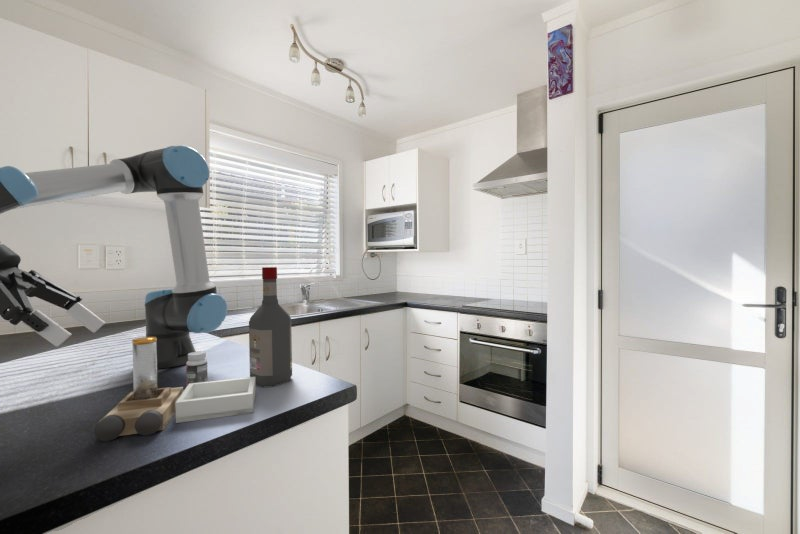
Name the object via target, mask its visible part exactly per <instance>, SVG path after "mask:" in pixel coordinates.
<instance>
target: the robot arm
mask: <svg viewBox="0 0 800 534" xmlns="http://www.w3.org/2000/svg"><path fill="white" fill-rule="evenodd" d="M209 178H210V167H209V165H208V162H207V161H206V159H205V157H204V156H203V155H202V154H200V152H199V151H198V150H196V149H194V148H192V147H191V146H187V145H169V146H167V147H164V148H159V149H154V150H150V151H145V152H142V153H140V154H137V155H133V156H129V157H124V158H117V159H112V160H111V161H110V162H109V163H105V164H96V165H89V166H88V165H86V166H77V167H69V168H59V169H51V170H40V171H31V172H24V171H22V170H21V169H19V168H17V167H14V166H11V165H6V166H5V165H4V166H2V167H0V215H1V214H3V213H5V212H6V213H7V212H8V211H11V210H17V209H23V208H29V207H35V206H42V205H47V204H53V203H60V202H67V201H71V200H76V199H77V200H78V199H83V198H89V197H94V196H101V195H108V194H113V193H118V192H120V193H122V194H124V195H130V194H136V193H150V192H151V193H152V192H156V196H157V197H158V198H159V199H160V200H162V201H163V203H164V207H165V214H166V221H167V228H168V234H169V241H170V242H169V243H170V248H171V255H172V261H173V269H174V275H175V283H176V284H175V286H174V287H173V288H169V289H167V288H166V289H162V290H160V289H159V290H153V291H150V292H148V293H146V295H145V297H144V298H145V301H144V307H145V308H144V309H145V314H144V315H145V337H157V341H156V342H157V370H158V369H167V368H168V369H169V368H173V367H180V366H183V365H184V366H185V365H186V363H187V361H189V360H188V354H189V353H192V352H197V351H196V348H195V346H194V344H193V341H192V339H191V335H190V333H194V334H209V333H211V332H214V331H215V330H217V329H219V328H220V326H221V325H222V323H223V322H224V321H225V320H226V317H227V313H228V304H227V301H226V299H225V298H224V297H223V296H222V295H220V294H218V291H217V285H216V284H215V283H213V282H212V281H211V280H210V274H209V267H208V259H207V254H206V245H205V238H204V231H203V223H202V216H201V208H200V202H199V201H200V200H201V199H202V198H203V196H204V195H205V194H204V188H203V187H204V186H205V184H207V182H208V180H209ZM21 260H22V258H21V256H20V255H19V254H17V252H15V251H13V250H12V249H11V248H10V247H8V246H7V245H6V244H4V243H2V242H1V241H0V317H1V318H2V319H4V320H5V321H7V322H9V323H10V324H12V325H14V326H17V325H19V324H20V323H22V324H24V325H25V326H27V327H28V328H30V329H31V330H32V331H33V332H35V333H36V334H38V335H39V336H40V337H42V338H43V339H44V340H46V341H47V342H49V343H51V344H52V345H53V346H55V347H56V348H57V347H59V346H61V345H62V344H63V343H64V342H65V341H66V340H67V339H68V338H69V337H71V336H72V332H69V331H68V330H67V329H66V328H65V327H63V326H61V325H60V324H58V323H57V322H56V321H55V320H53V319H52V318H51V317H49V316H48V315H46V314H45V313H44V312H42V311H41V310H39V309H36V310H35V311H34V308H33V307H32V304H31V303H30V299H28V298H38V299H40V300H42V301H44V302H47V303H49V304H52V305H54V306H57V307H59V308H62V309H64V310H66V311H65V313H66V314H67V315H68V316H70V317H72V319H74V320H76V321H77V322H78V323H80V324H81V325H82V326H83V327H84V328H86V329H88V330H89V331H90V332H92V333H96V332H97V331H98V330H99V329H100V328H101V327H103V326H104V325H105V324H106V321H104V320H103V319H102V318H100V316H98V315H97V314H95V313H94V312H92V311H91V309H89V308H87V307H86V306H85V305H83V304H82V303H81V301H83V297H81V296H79V295H77V294H76V293H73V292H71V291H70V290H68V289H66V288H64V287H62V286H61V285H59V284H58V283H55V282H54V281H51V280H50V279H48V278H46V277H45V276H43V275H42V274H40V272H37V271H36V270H34V269H31V270H29V271H25V270H23V269H21V268H19V264H20V263H21Z"/></svg>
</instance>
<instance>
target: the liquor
mask: <svg viewBox="0 0 800 534" xmlns="http://www.w3.org/2000/svg"><path fill="white" fill-rule="evenodd" d="M261 273H262V274H261V276H262V277H261V278H262V301H261V305H260V306H259V307H258V308H257V310H255V311H254V312H253V314H251V317H250V319H249V322H248V338H249V339H248V340H249V341H248V342H249V343H248V344H249V345H248V347H249V348H248V349H249V350H248V351H249V352H248V355H249V377H255V380H256V384H257V385H256V386H258V385H259V387H261V386H262V387H261V388H265V387H264V386H271V387H275V385H276V386H278V384H279V385H282V384H285V383H288V382H290V380H291V378H292V376H293V349H292V348H293V340H292V337H293V335H292V317H291V315H290V314H289V313H288V312H287V310H286V309H284V307H282V305H280V303H279V300H278V289H277V288H278V287H277V286H278V285H277V284H278V283H277V281H278V280H277V279H278V267H277V266H276V267H275V266H273V267H271V266H269V267H268V266H267V267H266V266H265V267H262V268H261ZM287 381H288V382H287ZM284 382H285V383H284ZM281 383H282V384H281Z"/></svg>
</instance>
